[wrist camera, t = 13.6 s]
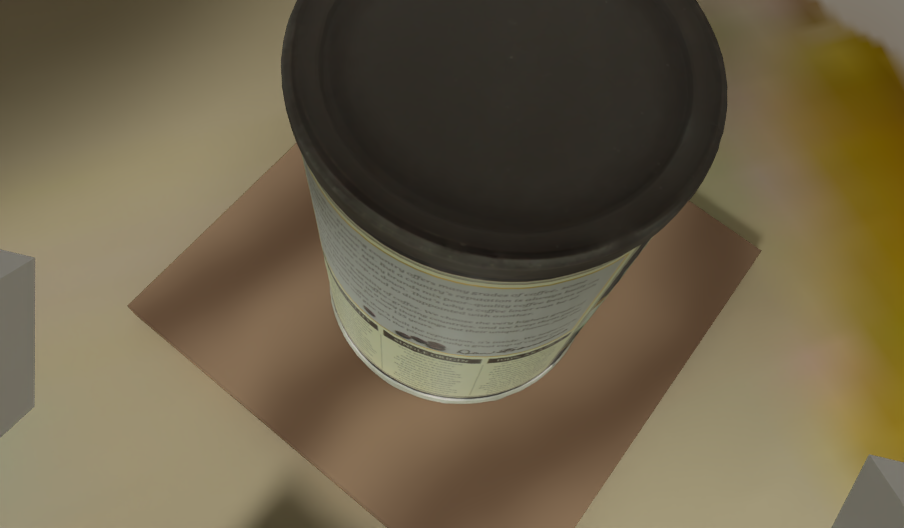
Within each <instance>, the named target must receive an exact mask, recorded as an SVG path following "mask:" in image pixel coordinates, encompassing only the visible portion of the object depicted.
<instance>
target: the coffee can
mask: <svg viewBox="0 0 904 528" xmlns="http://www.w3.org/2000/svg"><path fill="white" fill-rule="evenodd" d="M281 74H282V89H283V95H284V101H285V106H286V111H287V114H288V118H289V121H290V124H291V128H292V131H293V134H294V136H295V139H296V142H297V145H298V147H299V149H300V151H301V154H302V158H303V163H304V168H305V173H306V177H307V182H308V186H309V190H310V195H311V199H312V204H313V208H314V213H315V218H316V222H317V227H318V231H319V236H320V241H321V246H322V250H323V255H324V260H325V265H326V269H327V273H328V278H329V282H330V295H331V303H332V307H333V311H334V314H335V317H336V320H337V322H338V325H339V327H340V329H341V331H342V333H343V335H344V337H345V339H346V340H347V342H348V343H349V345H350V346H351V348H352V349H353V351H354V352H355V353H356V355H357V356H358V357H359V358H360V359H361V360H362V361H363V362H364V363H365V364H366V365H367V367H369V368H370V369H371V370H372V371H373V372H374V373H375V374H377V375H378V376H379V377H380V378H382V379H383V380H385V381H386V382H387V383H388V384H390V385H392V386H394V387H395V388H397V389H399V390H402V391H404V392H407V393H409V394H412V395H414V396H416V397H419V398H422V399H426V400H430V401H435V402H440V403H446V404H474V403H482V402H488V401H496V400H499V399H502V398H504V397H506V396H509V395H511V394H514V393H517V392H520V391H521V390H523V389H525V388H527V387H528V386H530V385H532V384H533V383H535V382H537V381H538V380H539V379H541V378H542V377H543V376H544V375H546V374H547V373H548V372H549V371H550V370H551V369H552V368H553V367H554V366H555V365H556V364H557V363H558V362H559V361H560V360H561V358H562V357H563V356H564V355H565V353H566V352H567V350H568V349H569V347H570V345H571V344H572V343H573V341H574V338H575V337H576V335H577V334H578V333H579V331H580V330H581V329H582V328H583V326H584V325H585V324H586V323H587V321H588V320H589V319H590V318H591V316H592V315H593V314H594V313H595V311H596V310H597V309H598V307H599V306H600V305H601V304H602V303H603V301H604V300H605V299H606V297H607V296H608V295H609V293H610V292H611V291H612V289H613V288H614V287H615V285H616V284H617V283H618V282H619V280H620V279H621V278H622V277H623V275H624V274H625V273H626V271H627V270H628V268H629V267H630V266H631V265H632V263H633V262H634V261H635V259H636V258H637V257H638V255H639V254H640V253H641V252H642V250H643V249H644V248H645V246H646V245H647V244H648V243H649V241H650V240H651V239H652V237H653V236H654V235H656V234H657V233H658V232H659V231H660V230H662V229H663V228H664V227H665V226H666V225H667V224H668V223H669V222H670V221H671V220H672V219H673V218H674V217H675V216H676V215H677V214H678V213H679V211H680V210H681V209H682V208H683V207H684V206H685V204H686V203H687V202H688V201H689V200H690V198H691V197H692V196H693V195H694V194H695V192H696V191H697V189H698V188H699V186H700V185H701V183H702V182H703V180H704V178H705V176H706V175H707V173H708V171H709V169H710V167H711V165H712V163H713V160H714V158H715V156H716V153H717V151H718V148H719V143H720V140H721V137H722V134H723V130H724V125H725V119H726V111H727V81H726V74H725V68H724V62H723V57H722V54H721V51H720V48H719V45H718V42H717V39H716V37H715V35H714V32H713V30H712V28H711V26H710V24H709V22H708V20H707V18H706V16H705V14H704V12H703V11H702V9H701V8H700V6H699V4H698V3H697V1H696V0H297V2H296V4H295V6H294V9H293V11H292V13H291V16H290V18H289V21H288V24H287V28H286V32H285V37H284V41H283V49H282V57H281Z"/></svg>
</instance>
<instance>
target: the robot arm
mask: <svg viewBox="0 0 904 528" xmlns="http://www.w3.org/2000/svg"><path fill="white" fill-rule="evenodd" d="M34 385H35V258H34V257H30V256H26V255H22V254H17V253H13V252H9V251H5V250H0V437H2V436H3V435H4V434H5V433H6V432H7V431H8V430H9V429H10V428H11V427H13V426H14V425H15V424H16V423H17V422H18V421H19V420H20V419H21V418H22V417H24V416H25V415H26V414H27V413H28V412H29V411H30V410H31V409H32V408H33V407H34ZM832 528H904V463H903V462H899V461H895V460H891V459H886V458H882V457H878V456H874V455H869V456H868V458H867V459H866V461H865V463H864V465H863V467H862V469H861V471H860V473H859V475H858V477H857V479H856V481H855V483H854V485H853V487H852V489H851V491H850V493H849V495H848V497H847V498H846V500H845V502H844V504H843V506H842V508H841V510H840V512H839V514H838V516H837V518H836V520H835V522H834V524H833V526H832Z"/></svg>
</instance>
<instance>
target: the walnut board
mask: <svg viewBox="0 0 904 528" xmlns="http://www.w3.org/2000/svg"><path fill="white" fill-rule="evenodd" d="M760 252H761V250H760V249H758V248H757V247H755V246H754V245H752V244H751V243H750V242H748V241H747V240H745V239H744V238H742V237H741V236H739V235H738V234H737V233H735V232H734V231H732V230H731V229H729V228H728V227H726V226H725V225H723V224H722V223H721V222H719V221H718V220H716V219H715V218H713V217H712V216H710V215H709V214H707V213H706V212H705V211H703V210H702V209H700V208H699V207H697V206H696V205H694V204H693V203H692V202H690V201H688V202H687V203H686V204H685V206H684V207H683V208H682V209H681V210H680V211H679V213H678V214H677V215H676V216H675V217H674V218H673V219H672V220H671V221H670V222H669V223H668V224H667V225H666V226H665V227H664V228H663V229H662V230H660V231H659V232H658V233H657V234H656V235H654V236H653V237H652V239H651V240H650V241H649V243H648V244H647V245H646V246H645V248H644V249H643V250H642V252H641V253H640V254H639V255H638V257H637V258H636V259H635V261H634V262H633V263H632V265H631V266H630V267H629V268H628V270H627V271H626V273H625V274H624V275H623V277H622V278H621V279H620V280H619V282H618V283H617V284H616V285H615V287H614V288H613V289H612V291H611V292H610V293H609V295H608V296H607V297H606V299H605V300H604V301H603V303H602V304H601V305H600V306H599V307H598V309H597V310H596V311H595V313H594V314H593V315H592V316H591V318H590V319H589V320H588V321H587V323H586V324H585V325H584V326H583V328H582V329H581V330H580V331H579V333H578V334H577V335H576V337H575V338H574V341H573V343H572V344H571V345H570V347H569V349H568V350H567V352H566V353H565V355H564V356H563V357H562V358H561V360H560V361H559V362H558V363H557V364H556V365H555V366H554V367H553V368H552V369H551V370H550V371H549V372H548V373H547V374H546V375H544V376H543V377H542V378H541V379H539V380H538V381H537V382H535V383H533V384H532V385H530V386H528V387H527V388H525V389H523V390H521V391H520V392H517V393H514V394H511V395H509V396H506V397H504V398H502V399H499V400H496V401H488V402H482V403H474V404H446V403H440V402H435V401H430V400H426V399H422V398H419V397H416V396H414V395H412V394H409V393H407V392H404V391H402V390H399V389H397V388H395V387H394V386H392V385H390V384H388V383H387V382H386V381H385V380H383V379H382V378H380V377H379V376H378V375H377V374H375V373H374V372H373V371H372V370H371V369H370V368H369V367H367V365H366V364H365V363H364V362H363V361H362V360H361V359H360V358H359V357H358V356H357V355H356V353H355V352H354V351H353V349H352V348H351V346H350V345H349V343H348V342H347V340H346V339H345V337H344V335H343V333H342V331H341V329H340V327H339V325H338V322H337V320H336V317H335V314H334V311H333V307H332V303H331V295H330V282H329V278H328V273H327V269H326V265H325V260H324V255H323V250H322V246H321V241H320V236H319V231H318V227H317V222H316V218H315V213H314V208H313V204H312V199H311V195H310V190H309V186H308V182H307V177H306V173H305V168H304V163H303V158H302V154H301V151H300V149H299V147H298V145H297V143H296V144H295V145H294V146H292V147H291V148H290V149H289V150H288V151H287V152H286V153H285V154H284V155H283V156H282V157H281V158H280V159H279V160H278V161H277V162H276V163H275V164H274V165H273V166H272V167H271V168H270V169H269V170H268V171H267V172H266V173H264V174H263V175H262V176H261V177H260V178H259V179H258V180H257V181H256V182H255V183H254V184H253V185H252V186H251V187H250V188H249V189H248V190H247V191H246V192H245V193H244V194H243V195H242V196H241V197H240V198H239V199H238V200H236V201H235V202H234V203H233V204H232V205H231V206H230V207H229V208H228V209H227V210H226V211H225V212H224V213H223V214H222V215H221V216H220V217H219V218H218V219H217V220H216V221H215V222H214V223H213V224H212V225H211V226H210V227H208V228H207V229H206V230H205V231H204V232H203V233H202V234H201V235H200V236H199V237H198V238H197V239H196V240H195V241H194V242H193V243H192V244H191V245H190V246H189V247H188V248H187V249H186V250H185V251H184V252H183V253H182V254H180V255H179V256H178V257H177V258H176V259H175V260H174V261H173V262H172V263H171V264H170V265H169V266H168V267H167V268H166V269H165V270H164V271H163V272H162V273H161V274H160V275H159V276H158V277H157V278H156V279H155V280H154V281H152V282H151V283H150V284H149V285H148V286H147V287H146V288H145V289H144V290H143V291H142V292H141V293H140V294H139V295H138V296H137V297H136V298H135V299H134V300H133V301H132V302H131V303H130V304H129V305H128V307H129V308H130V309H131V310H132V311H133V313H134V314H135V315H137V316H138V317H139V318H140V319H141V320H142V321H144V322H145V323H146V324H147V325H148V326H150V327H151V328H152V329H153V330H154V331H155V332H157V333H158V334H159V335H160V336H161V337H163V338H164V339H165V340H166V341H167V342H168V343H170V344H171V345H172V346H173V347H174V348H176V349H177V350H178V351H179V352H180V353H181V354H183V355H184V356H185V357H186V358H187V359H189V360H190V361H191V362H192V363H193V364H194V365H196V366H197V367H198V368H199V369H200V370H202V371H203V372H204V373H205V374H206V375H207V376H209V377H210V378H211V379H212V380H213V381H215V382H216V383H217V384H218V385H219V386H220V387H222V388H223V389H224V390H225V391H226V392H228V393H229V394H230V395H231V396H232V397H233V398H235V399H236V400H237V401H238V402H239V403H240V404H242V405H243V406H244V407H245V408H246V409H248V410H249V411H250V412H251V413H252V414H253V415H255V416H256V417H257V418H258V419H259V420H261V421H262V422H263V423H264V424H265V425H266V426H268V427H269V428H270V429H271V430H272V431H274V432H275V433H276V434H277V435H278V436H279V437H281V438H282V439H283V440H284V441H285V442H287V443H288V444H289V445H290V446H291V447H292V448H294V449H295V450H296V451H297V452H298V453H300V454H301V455H302V456H303V457H304V458H305V459H307V460H308V461H309V462H310V463H311V464H313V465H314V466H315V467H316V468H317V469H318V470H320V471H321V472H322V473H323V474H324V475H326V476H327V477H328V478H329V479H330V480H331V481H333V482H334V483H335V484H336V485H337V486H339V487H340V488H341V489H342V490H343V491H344V492H346V493H347V494H348V495H349V496H350V497H351V498H353V499H354V500H355V501H356V502H357V503H359V504H360V505H361V506H362V507H363V508H364V509H366V510H367V511H368V512H369V513H370V514H372V515H373V516H374V517H375V518H376V519H377V520H379V521H380V522H381V523H382V524H383V525H385V526H386V527H387V528H575V526H576V525H577V523H578V522H579V520H580V519H581V517H582V516H583V514H584V513H585V511H586V510H587V508H588V507H589V505H590V504H591V502H592V501H593V499H594V498H595V496H596V495H597V494H598V492H599V491H600V489H601V488H602V486H603V485H604V483H605V482H606V480H607V479H608V477H609V476H610V474H611V473H612V471H613V470H614V468H615V467H616V465H617V464H618V462H619V461H620V459H621V458H622V457H623V455H624V454H625V452H626V451H627V449H628V448H629V446H630V445H631V443H632V442H633V440H634V439H635V437H636V436H637V434H638V433H639V431H640V430H641V428H642V427H643V425H644V424H645V422H646V421H647V420H648V418H649V417H650V415H651V414H652V412H653V411H654V409H655V408H656V406H657V405H658V403H659V402H660V400H661V399H662V397H663V396H664V394H665V393H666V391H667V390H668V388H669V387H670V385H671V384H672V383H673V381H674V380H675V378H676V377H677V375H678V374H679V372H680V371H681V369H682V368H683V366H684V365H685V363H686V362H687V360H688V359H689V357H690V356H691V354H692V353H693V351H694V350H695V348H696V347H697V346H698V344H699V343H700V341H701V340H702V338H703V337H704V335H705V334H706V332H707V331H708V329H709V328H710V326H711V325H712V323H713V322H714V320H715V319H716V317H717V316H718V314H719V313H720V311H721V310H722V309H723V307H724V306H725V304H726V303H727V301H728V300H729V298H730V297H731V295H732V294H733V292H734V291H735V289H736V288H737V286H738V285H739V283H740V282H741V280H742V279H743V277H744V276H745V274H746V273H747V272H748V270H749V269H750V267H751V266H752V264H753V263H754V261H755V260H756V258H757V257H758V255H759V254H760Z"/></svg>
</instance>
